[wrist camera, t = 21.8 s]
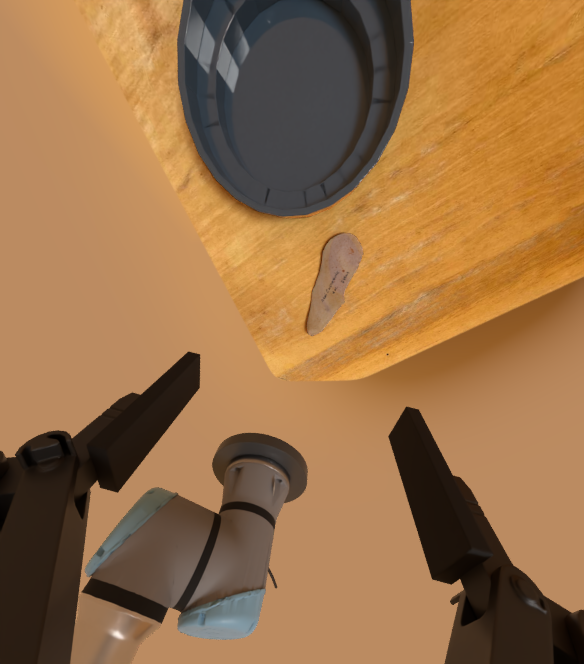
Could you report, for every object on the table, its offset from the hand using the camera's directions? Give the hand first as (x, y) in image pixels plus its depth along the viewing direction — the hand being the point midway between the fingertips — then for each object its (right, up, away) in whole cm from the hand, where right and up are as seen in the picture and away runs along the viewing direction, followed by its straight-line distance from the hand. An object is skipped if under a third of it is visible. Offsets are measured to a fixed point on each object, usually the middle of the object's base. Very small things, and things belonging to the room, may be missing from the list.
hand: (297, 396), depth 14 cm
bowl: (0, +28, +10) cm, 30 cm away
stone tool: (+5, +10, +18) cm, 21 cm away
